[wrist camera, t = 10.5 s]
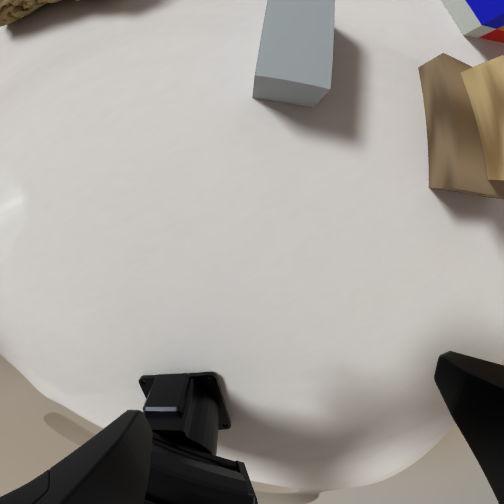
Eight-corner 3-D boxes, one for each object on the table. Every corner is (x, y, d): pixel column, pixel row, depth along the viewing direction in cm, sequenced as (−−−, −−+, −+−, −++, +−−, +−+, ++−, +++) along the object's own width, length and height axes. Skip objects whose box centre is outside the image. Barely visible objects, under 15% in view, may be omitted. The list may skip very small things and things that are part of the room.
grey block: (312, 108, 16) (330, 89, 12) (252, 98, 16) (254, 75, 12) (320, 20, 15) (334, -9, 11) (266, 10, 14) (271, -22, 10)
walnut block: (485, 196, 18) (516, 200, 14) (426, 187, 18) (459, 189, 14) (477, 94, 16) (505, 86, 12) (415, 69, 16) (443, 53, 12)
